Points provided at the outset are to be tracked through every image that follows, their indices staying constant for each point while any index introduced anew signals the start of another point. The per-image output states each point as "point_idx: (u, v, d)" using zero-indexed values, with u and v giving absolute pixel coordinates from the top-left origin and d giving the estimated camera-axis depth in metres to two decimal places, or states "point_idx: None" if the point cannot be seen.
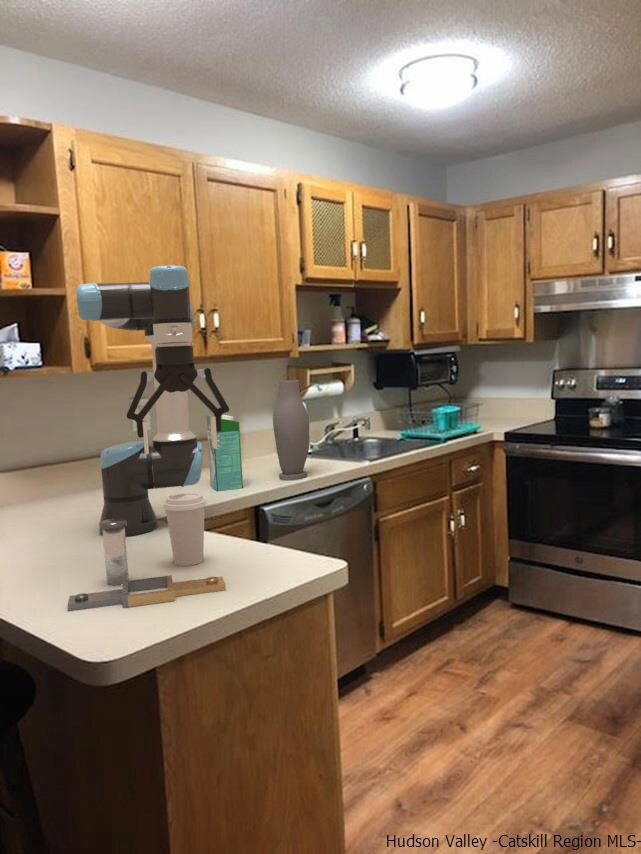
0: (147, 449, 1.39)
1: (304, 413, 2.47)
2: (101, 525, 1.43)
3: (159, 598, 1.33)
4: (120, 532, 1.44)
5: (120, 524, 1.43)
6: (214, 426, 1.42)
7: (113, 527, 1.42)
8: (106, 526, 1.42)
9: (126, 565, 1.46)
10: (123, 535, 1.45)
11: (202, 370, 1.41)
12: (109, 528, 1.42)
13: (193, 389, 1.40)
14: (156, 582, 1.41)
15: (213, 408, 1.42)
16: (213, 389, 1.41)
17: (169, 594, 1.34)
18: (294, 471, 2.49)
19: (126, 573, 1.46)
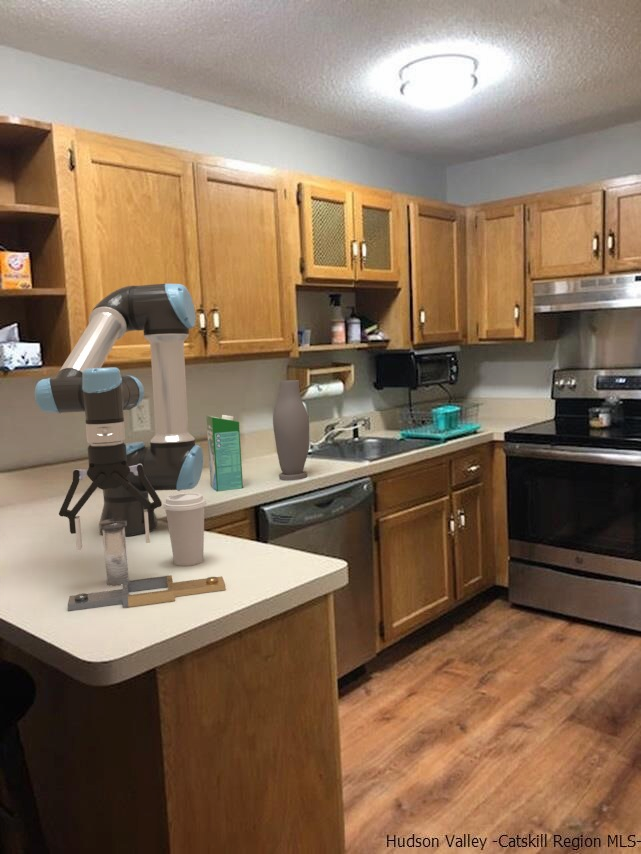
0: (79, 545, 1.42)
1: (304, 413, 2.47)
2: (101, 525, 1.43)
3: (159, 598, 1.33)
4: (120, 532, 1.44)
5: (120, 524, 1.43)
6: (146, 521, 1.45)
7: (113, 527, 1.42)
8: (106, 526, 1.42)
9: (126, 565, 1.46)
10: (123, 535, 1.45)
11: (135, 467, 1.44)
12: (109, 528, 1.42)
13: (125, 486, 1.43)
14: (156, 582, 1.41)
15: (145, 503, 1.45)
16: (145, 485, 1.44)
17: (169, 594, 1.34)
18: (294, 471, 2.49)
19: (126, 573, 1.46)
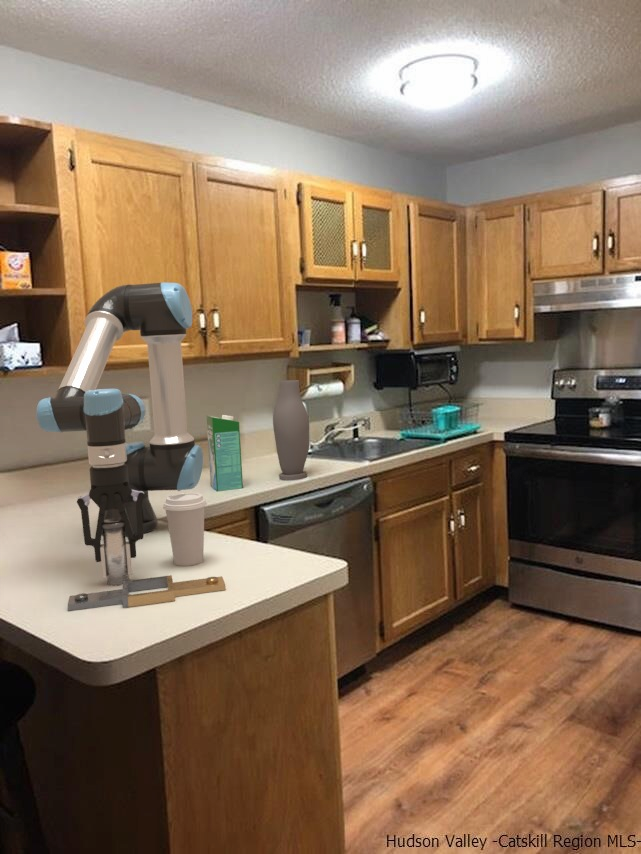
0: (105, 573, 1.44)
1: (304, 413, 2.47)
2: (101, 525, 1.43)
3: (159, 598, 1.33)
4: (120, 532, 1.44)
5: (120, 524, 1.43)
6: (128, 553, 1.45)
7: (113, 527, 1.42)
8: (106, 526, 1.42)
9: (126, 565, 1.46)
10: (123, 535, 1.45)
11: (137, 492, 1.45)
12: (109, 528, 1.42)
13: (120, 510, 1.43)
14: (156, 582, 1.41)
15: (130, 534, 1.45)
16: (138, 514, 1.45)
17: (169, 594, 1.34)
18: (294, 471, 2.49)
19: (126, 573, 1.46)
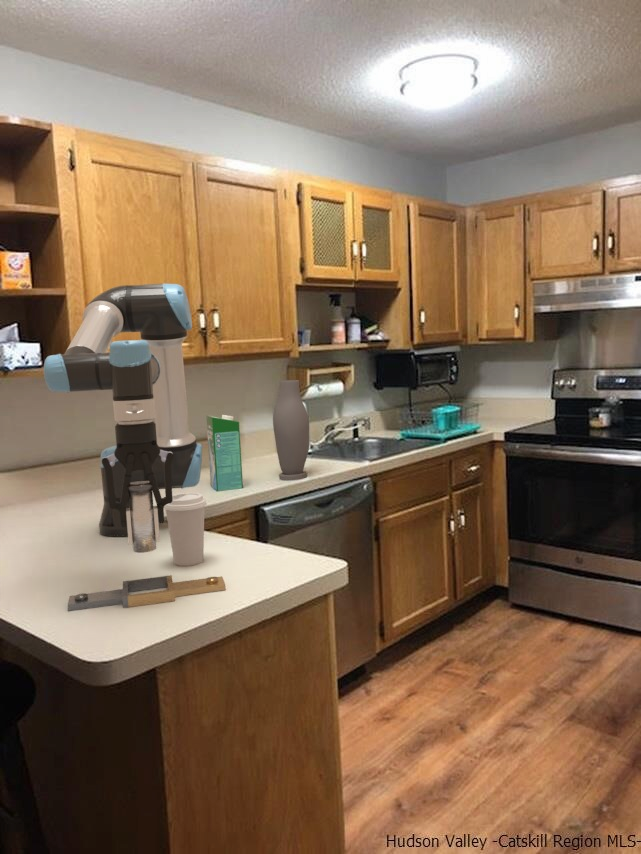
0: (131, 539, 1.34)
1: (304, 413, 2.47)
2: (127, 487, 1.33)
3: (159, 598, 1.33)
4: (148, 494, 1.33)
5: (148, 486, 1.33)
6: (156, 518, 1.35)
7: (140, 489, 1.32)
8: (133, 488, 1.32)
9: (154, 531, 1.35)
10: (151, 498, 1.34)
11: (165, 452, 1.35)
12: (136, 490, 1.32)
13: (148, 471, 1.33)
14: (156, 582, 1.41)
15: (158, 498, 1.34)
16: (166, 475, 1.35)
17: (169, 594, 1.34)
18: (294, 471, 2.49)
19: (154, 539, 1.35)
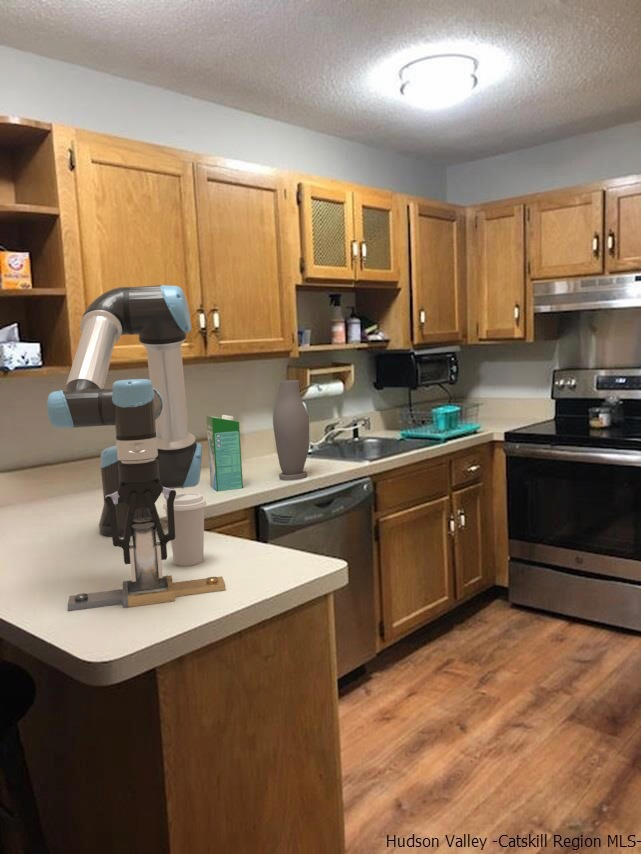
0: (134, 576, 1.35)
1: (304, 413, 2.47)
2: (131, 525, 1.34)
3: (159, 598, 1.33)
4: (151, 532, 1.34)
5: (151, 524, 1.34)
6: (159, 555, 1.36)
7: (144, 527, 1.33)
8: (136, 526, 1.33)
9: (157, 567, 1.36)
10: (154, 535, 1.35)
11: (168, 490, 1.36)
12: (139, 528, 1.33)
13: (151, 509, 1.34)
14: None
15: (161, 535, 1.36)
16: (169, 513, 1.36)
17: (169, 594, 1.34)
18: (294, 471, 2.49)
19: (157, 576, 1.36)
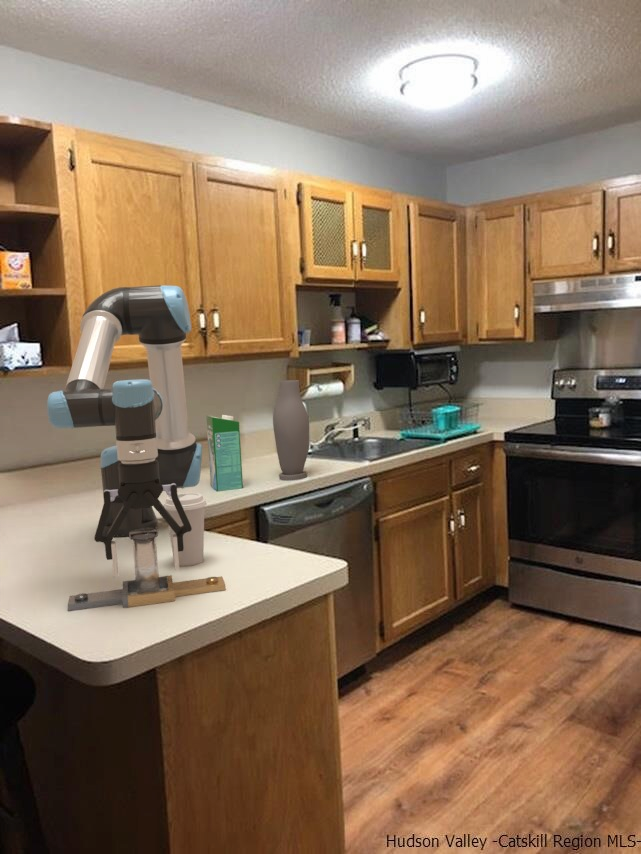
0: (116, 572, 1.34)
1: (304, 413, 2.47)
2: (131, 535, 1.34)
3: (159, 598, 1.33)
4: (151, 542, 1.35)
5: (151, 534, 1.34)
6: (176, 547, 1.36)
7: (144, 538, 1.33)
8: (137, 536, 1.33)
9: (157, 578, 1.37)
10: (154, 546, 1.36)
11: (168, 486, 1.36)
12: (140, 539, 1.33)
13: (156, 507, 1.34)
14: None
15: (175, 528, 1.36)
16: (177, 507, 1.36)
17: (169, 594, 1.34)
18: (294, 471, 2.49)
19: (157, 586, 1.36)
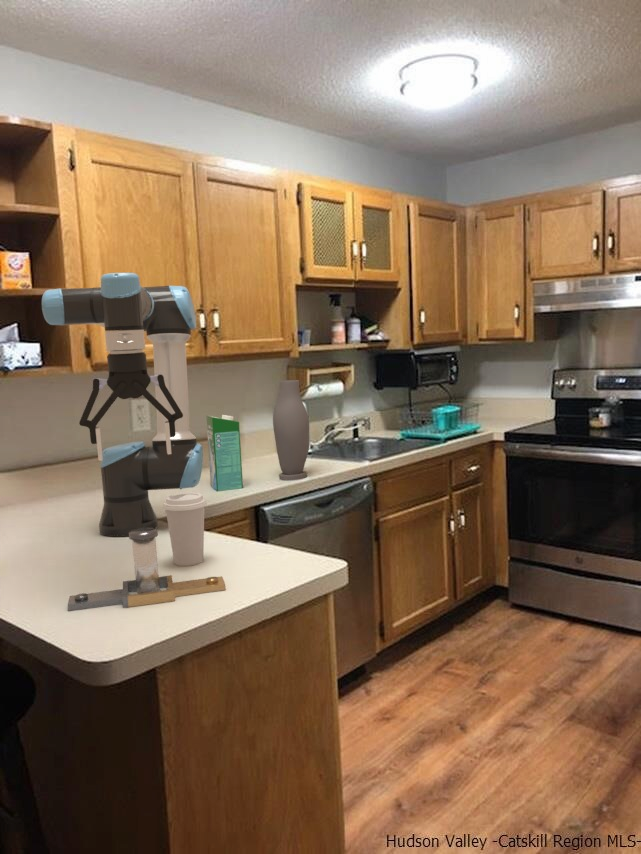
0: (100, 455, 1.40)
1: (304, 413, 2.47)
2: (131, 535, 1.34)
3: (159, 598, 1.33)
4: (151, 542, 1.35)
5: (151, 534, 1.34)
6: (168, 432, 1.43)
7: (144, 537, 1.33)
8: (136, 536, 1.33)
9: (157, 578, 1.37)
10: (154, 546, 1.36)
11: (155, 376, 1.42)
12: (140, 539, 1.33)
13: (146, 396, 1.40)
14: None
15: (167, 414, 1.43)
16: (166, 395, 1.42)
17: (169, 594, 1.34)
18: (294, 471, 2.49)
19: (157, 586, 1.36)
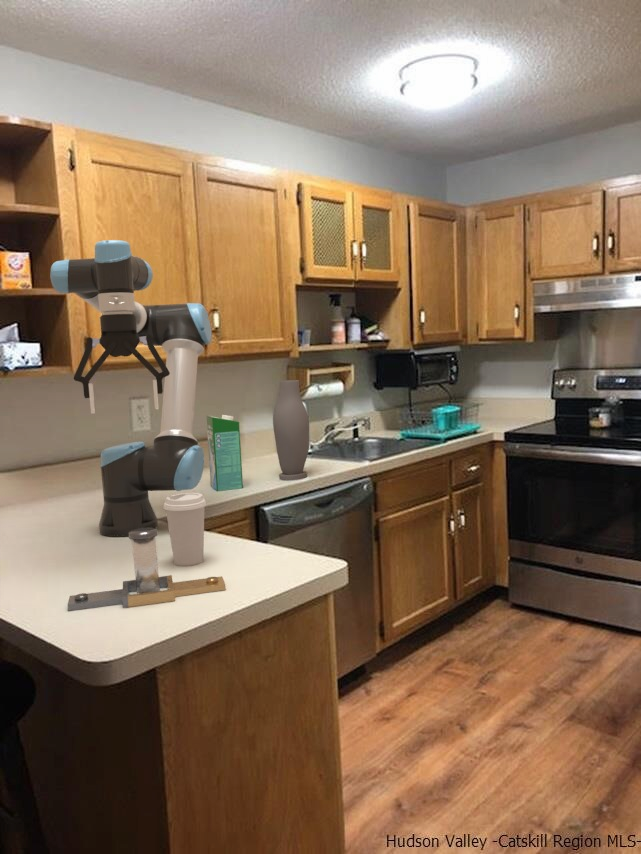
0: (93, 409, 1.52)
1: (304, 413, 2.47)
2: (131, 535, 1.34)
3: (159, 598, 1.33)
4: (151, 542, 1.35)
5: (151, 534, 1.34)
6: (155, 388, 1.55)
7: (144, 537, 1.33)
8: (136, 536, 1.33)
9: (157, 577, 1.37)
10: (154, 545, 1.36)
11: (144, 337, 1.54)
12: (139, 538, 1.33)
13: (135, 354, 1.52)
14: None
15: (154, 372, 1.54)
16: (154, 354, 1.54)
17: (169, 594, 1.34)
18: (294, 471, 2.49)
19: (157, 586, 1.37)
